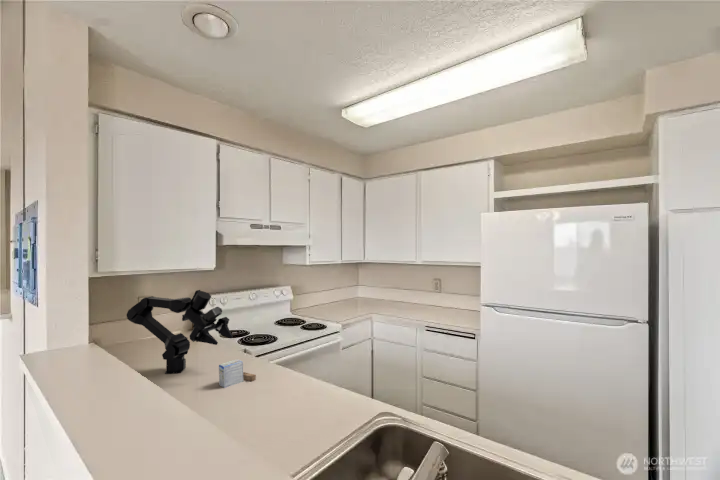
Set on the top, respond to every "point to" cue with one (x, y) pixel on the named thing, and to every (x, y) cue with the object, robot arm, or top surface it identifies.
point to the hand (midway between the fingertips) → (224, 340)
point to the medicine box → (230, 373)
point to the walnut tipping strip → (249, 376)
